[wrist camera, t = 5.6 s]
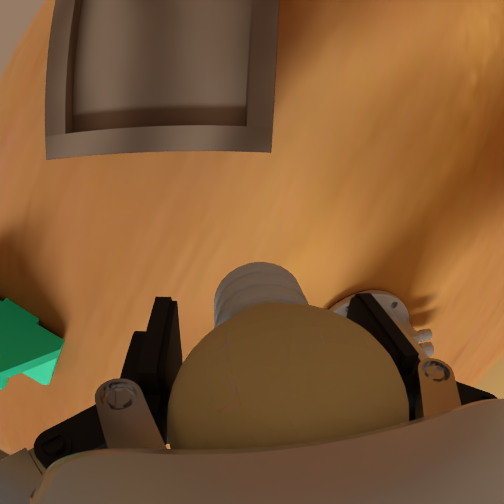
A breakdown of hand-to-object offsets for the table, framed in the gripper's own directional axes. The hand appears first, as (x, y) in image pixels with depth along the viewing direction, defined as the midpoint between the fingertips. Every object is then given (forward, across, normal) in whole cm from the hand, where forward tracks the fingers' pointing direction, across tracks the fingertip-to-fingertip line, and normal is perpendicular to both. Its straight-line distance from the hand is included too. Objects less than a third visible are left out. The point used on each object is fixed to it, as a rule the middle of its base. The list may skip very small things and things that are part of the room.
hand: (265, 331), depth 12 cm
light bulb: (+3, 0, 0) cm, 3 cm away
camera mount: (+17, +25, +14) cm, 33 cm away
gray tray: (+16, +6, -13) cm, 21 cm away
